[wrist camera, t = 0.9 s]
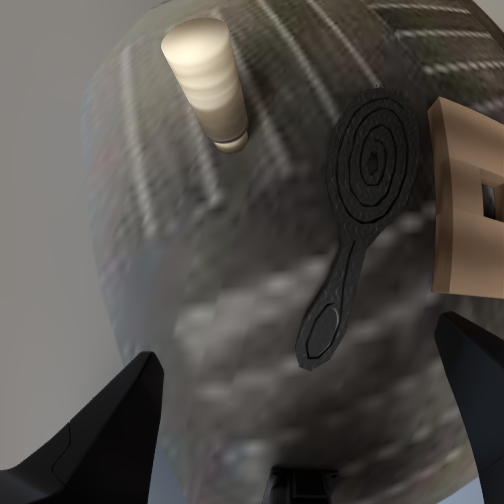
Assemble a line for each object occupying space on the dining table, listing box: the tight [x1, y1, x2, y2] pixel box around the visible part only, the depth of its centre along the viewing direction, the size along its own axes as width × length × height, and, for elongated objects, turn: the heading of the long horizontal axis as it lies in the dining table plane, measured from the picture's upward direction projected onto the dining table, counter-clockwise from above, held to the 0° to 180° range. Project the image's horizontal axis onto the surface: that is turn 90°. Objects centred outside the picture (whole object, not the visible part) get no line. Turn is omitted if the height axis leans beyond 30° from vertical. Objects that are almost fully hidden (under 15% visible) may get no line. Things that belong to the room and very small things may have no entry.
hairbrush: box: [295, 85, 420, 371], centre depth 21 cm, size 8×4×25 cm
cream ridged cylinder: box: [161, 18, 249, 154], centre depth 18 cm, size 4×4×12 cm
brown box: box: [427, 97, 504, 299], centre depth 19 cm, size 18×12×3 cm, turn 172°
